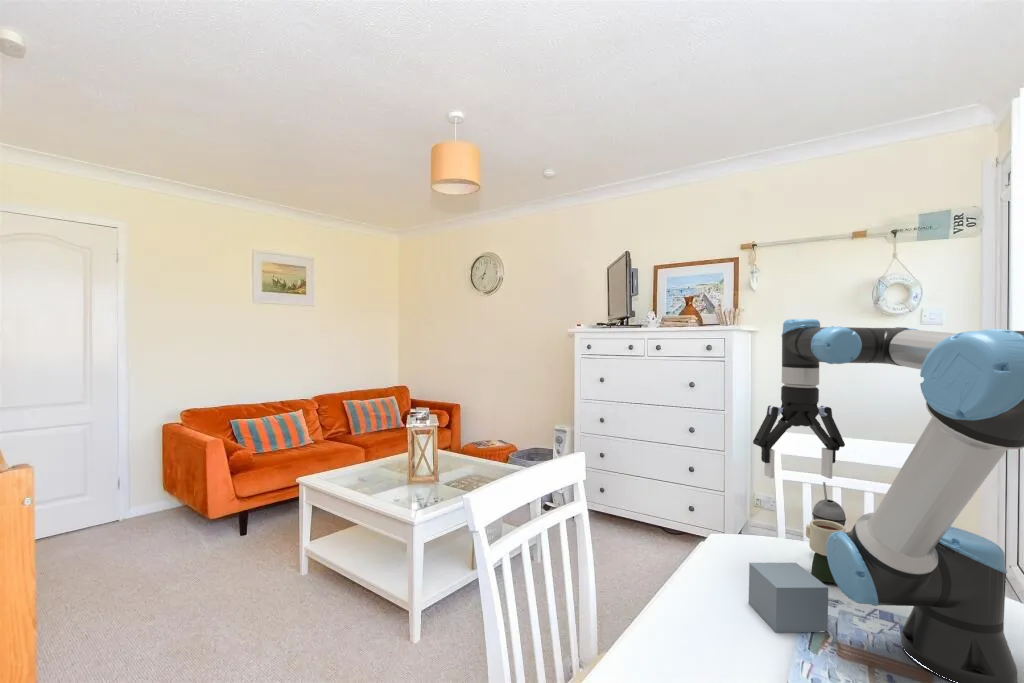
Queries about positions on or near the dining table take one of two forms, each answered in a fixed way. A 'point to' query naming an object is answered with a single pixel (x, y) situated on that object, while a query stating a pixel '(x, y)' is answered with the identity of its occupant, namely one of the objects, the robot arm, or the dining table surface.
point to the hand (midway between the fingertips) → (797, 476)
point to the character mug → (821, 547)
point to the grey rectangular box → (788, 597)
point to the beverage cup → (829, 510)
